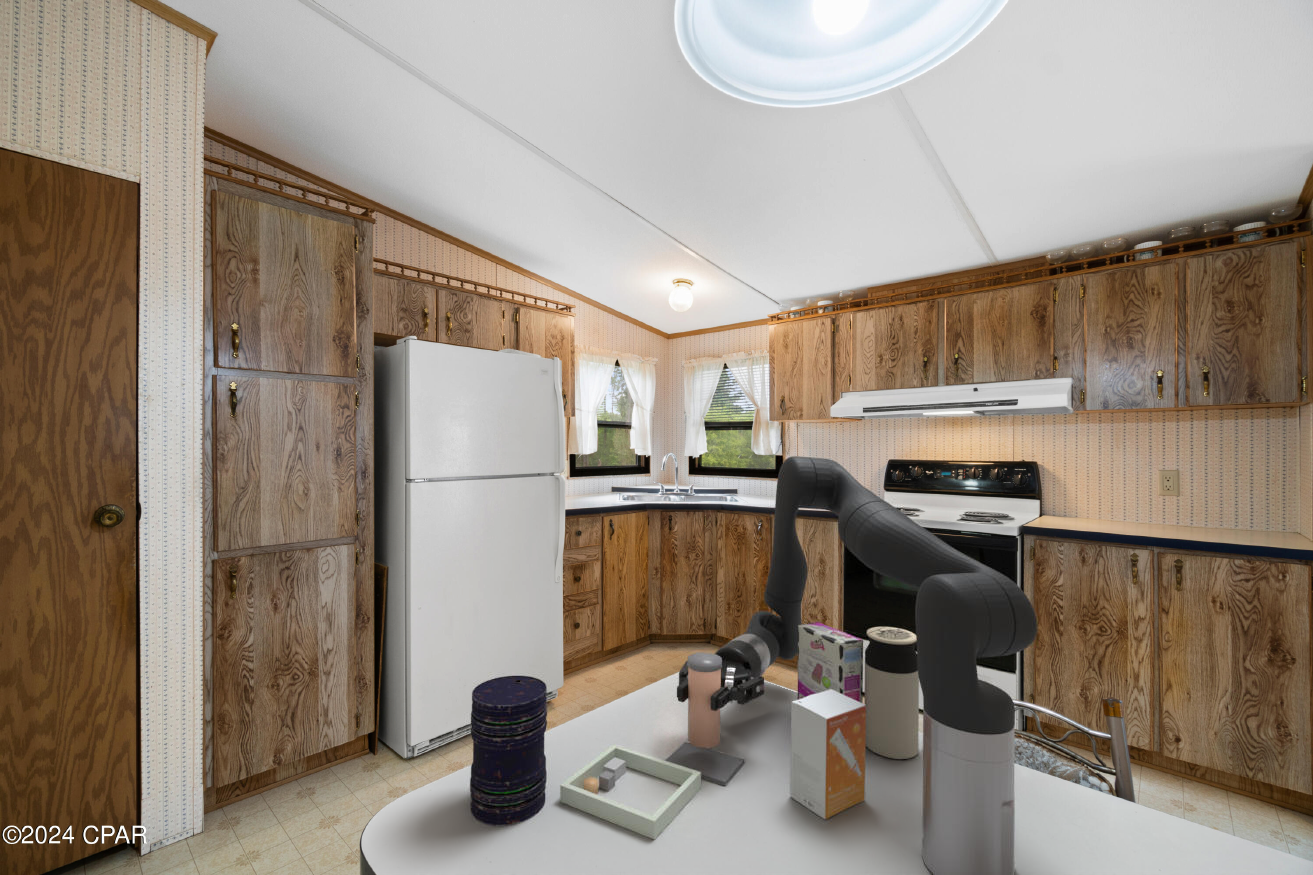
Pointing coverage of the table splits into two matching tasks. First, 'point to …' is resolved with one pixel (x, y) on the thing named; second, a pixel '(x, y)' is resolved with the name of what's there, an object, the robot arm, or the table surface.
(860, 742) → the small box
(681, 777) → the parts tub
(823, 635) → the candy bar box
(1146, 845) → the table surface
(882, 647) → the travel mug
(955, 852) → the robot arm
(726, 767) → the mat
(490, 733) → the dark blue barrel
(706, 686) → the canister
